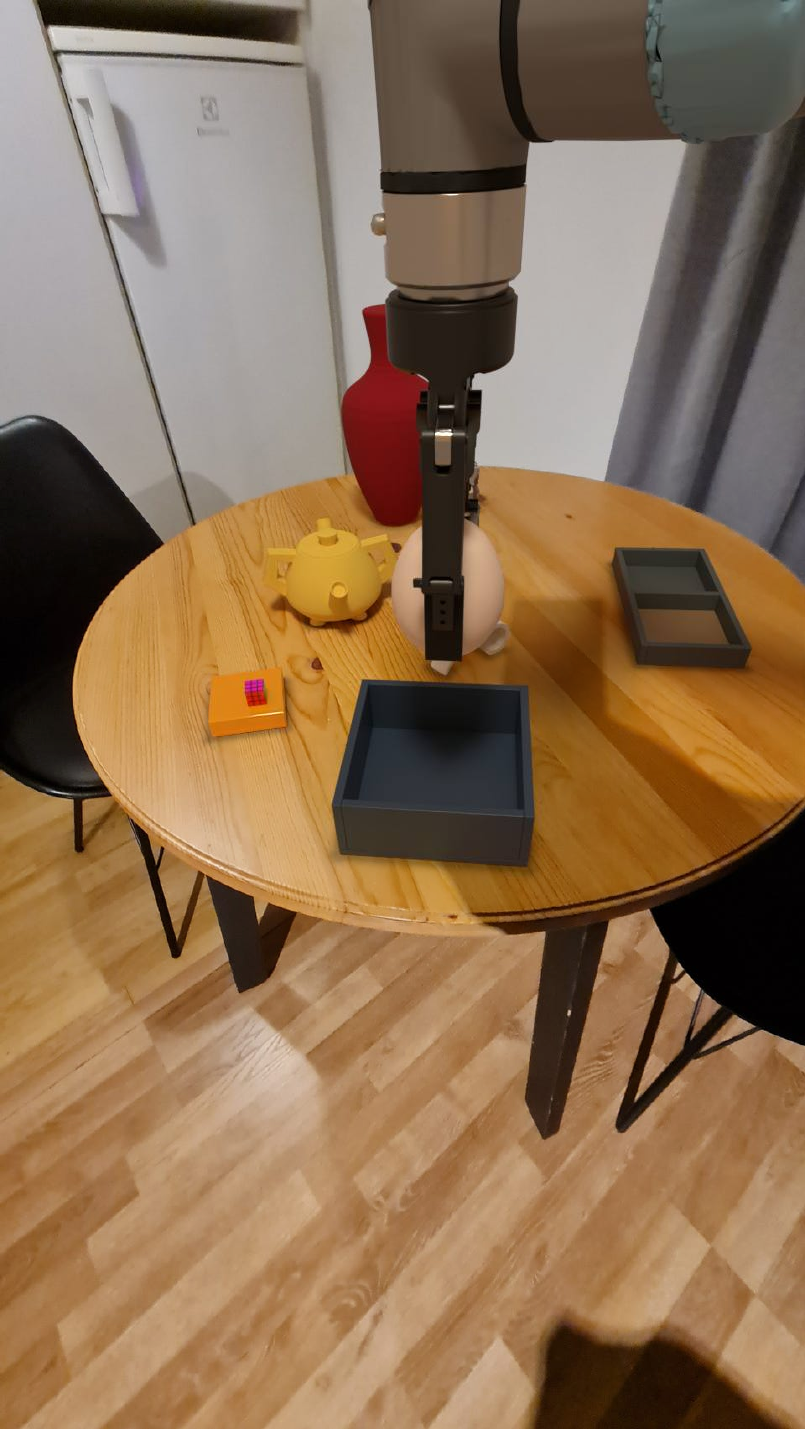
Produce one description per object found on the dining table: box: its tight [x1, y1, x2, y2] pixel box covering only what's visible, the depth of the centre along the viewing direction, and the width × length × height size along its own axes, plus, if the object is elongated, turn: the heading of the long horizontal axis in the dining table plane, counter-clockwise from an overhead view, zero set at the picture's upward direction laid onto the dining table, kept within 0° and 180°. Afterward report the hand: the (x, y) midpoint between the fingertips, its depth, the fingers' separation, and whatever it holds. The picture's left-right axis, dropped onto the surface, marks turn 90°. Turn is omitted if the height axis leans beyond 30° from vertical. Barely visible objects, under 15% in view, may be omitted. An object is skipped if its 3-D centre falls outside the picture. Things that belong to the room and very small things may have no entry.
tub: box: [330, 678, 536, 868], centre depth 62 cm, size 17×17×7 cm
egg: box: [390, 518, 506, 657], centre depth 50 cm, size 9×9×11 cm
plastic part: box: [430, 619, 511, 676], centre depth 77 cm, size 8×10×12 cm
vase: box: [340, 303, 428, 527], centre depth 98 cm, size 15×15×30 cm
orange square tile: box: [207, 667, 288, 738], centre depth 72 cm, size 8×8×4 cm
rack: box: [611, 546, 753, 669], centre depth 84 cm, size 12×23×3 cm, turn 174°
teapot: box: [261, 517, 399, 627], centre depth 85 cm, size 20×18×11 cm
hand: (447, 621), depth 52 cm, fingers closed on egg, 9 cm apart
